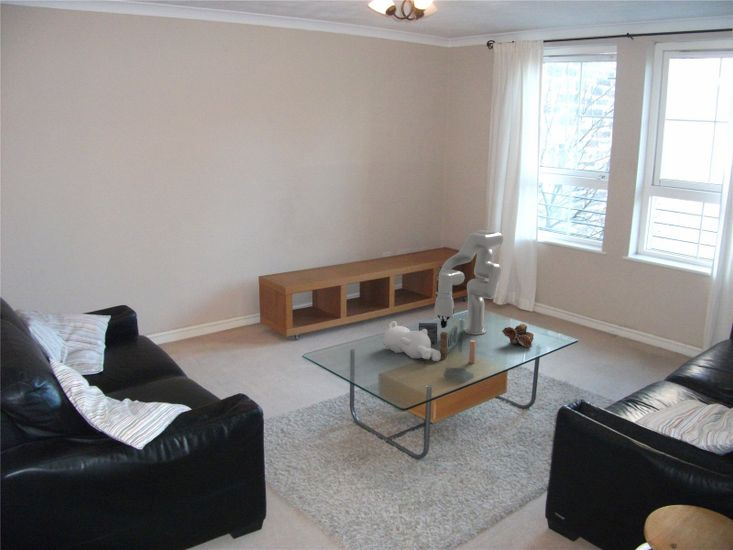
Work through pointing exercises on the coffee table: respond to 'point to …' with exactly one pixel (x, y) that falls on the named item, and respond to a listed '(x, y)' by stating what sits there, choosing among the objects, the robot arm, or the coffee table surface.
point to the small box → (430, 331)
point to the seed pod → (519, 335)
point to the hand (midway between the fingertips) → (443, 327)
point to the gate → (451, 338)
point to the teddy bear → (410, 342)
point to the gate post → (443, 345)
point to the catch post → (472, 351)
